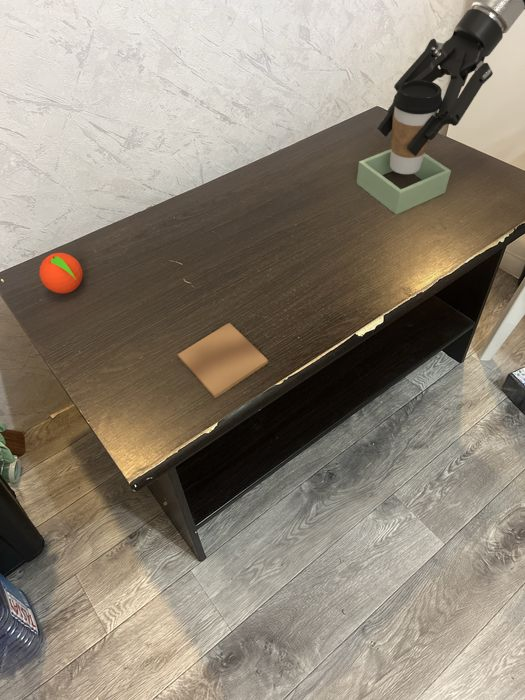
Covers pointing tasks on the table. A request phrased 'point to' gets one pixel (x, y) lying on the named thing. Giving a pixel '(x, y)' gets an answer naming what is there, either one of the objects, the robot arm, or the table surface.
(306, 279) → the table surface
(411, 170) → the coffee cup
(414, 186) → the holder
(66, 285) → the clementine
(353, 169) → the table surface
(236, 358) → the trivet
